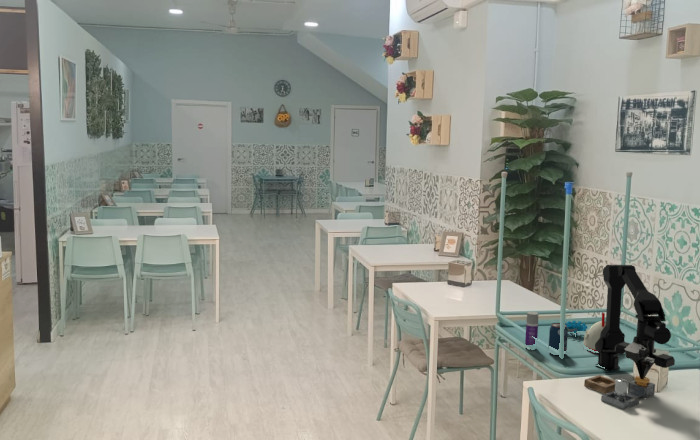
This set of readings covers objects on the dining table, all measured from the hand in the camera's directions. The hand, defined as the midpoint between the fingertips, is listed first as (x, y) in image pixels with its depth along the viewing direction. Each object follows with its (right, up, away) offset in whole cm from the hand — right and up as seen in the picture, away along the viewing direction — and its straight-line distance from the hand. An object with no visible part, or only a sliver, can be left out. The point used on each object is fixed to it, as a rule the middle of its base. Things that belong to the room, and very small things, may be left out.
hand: (642, 378), depth 228 cm
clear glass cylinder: (-10, -6, -6) cm, 13 cm away
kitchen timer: (+3, +1, +46) cm, 47 cm away
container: (-25, +1, +46) cm, 52 cm away
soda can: (-16, 0, +40) cm, 43 cm away
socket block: (-6, -6, -3) cm, 9 cm away
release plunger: (0, -4, +1) cm, 4 cm away
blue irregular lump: (-2, +3, +64) cm, 64 cm away
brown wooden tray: (-11, -5, +6) cm, 14 cm away
